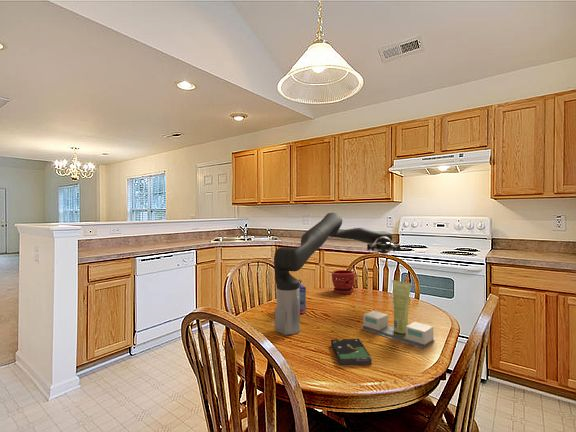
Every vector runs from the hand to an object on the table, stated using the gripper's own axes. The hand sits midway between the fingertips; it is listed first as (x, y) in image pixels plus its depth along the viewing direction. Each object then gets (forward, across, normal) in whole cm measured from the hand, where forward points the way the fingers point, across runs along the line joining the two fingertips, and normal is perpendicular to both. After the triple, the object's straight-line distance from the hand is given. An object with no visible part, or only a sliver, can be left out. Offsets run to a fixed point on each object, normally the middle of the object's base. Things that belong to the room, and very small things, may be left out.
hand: (383, 248), depth 136 cm
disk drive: (+36, -11, +32) cm, 49 cm away
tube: (+14, +6, +30) cm, 34 cm away
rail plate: (+14, +5, +31) cm, 35 cm away
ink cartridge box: (-3, -40, +31) cm, 50 cm away
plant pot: (-42, -23, +31) cm, 57 cm away
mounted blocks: (+14, +5, +30) cm, 34 cm away
